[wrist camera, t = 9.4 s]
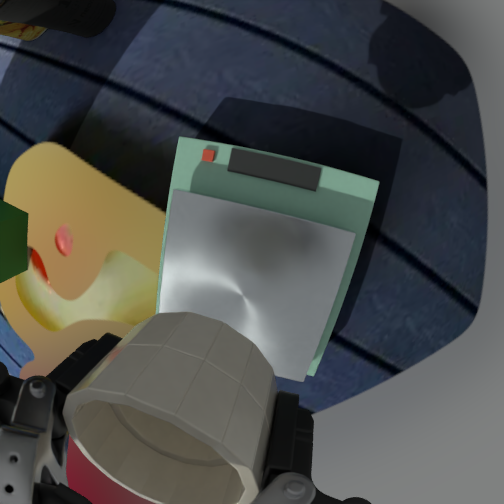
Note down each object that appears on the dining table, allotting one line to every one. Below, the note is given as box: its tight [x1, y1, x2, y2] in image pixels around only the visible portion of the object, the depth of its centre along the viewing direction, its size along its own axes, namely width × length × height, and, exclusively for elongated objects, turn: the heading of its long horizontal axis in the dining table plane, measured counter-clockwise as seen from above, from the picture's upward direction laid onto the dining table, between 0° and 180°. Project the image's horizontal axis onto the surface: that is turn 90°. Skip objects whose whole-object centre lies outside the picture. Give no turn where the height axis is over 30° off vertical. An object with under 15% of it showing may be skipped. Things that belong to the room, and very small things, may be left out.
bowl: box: [62, 311, 278, 504], centre depth 9 cm, size 6×6×5 cm
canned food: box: [0, 20, 48, 41], centre depth 15 cm, size 8×8×12 cm
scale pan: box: [159, 188, 356, 382], centre depth 21 cm, size 12×12×1 cm
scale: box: [156, 137, 379, 376], centre depth 23 cm, size 14×16×3 cm
